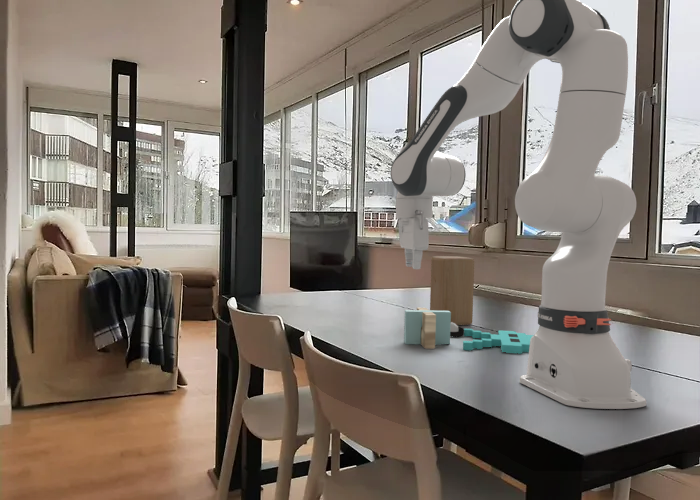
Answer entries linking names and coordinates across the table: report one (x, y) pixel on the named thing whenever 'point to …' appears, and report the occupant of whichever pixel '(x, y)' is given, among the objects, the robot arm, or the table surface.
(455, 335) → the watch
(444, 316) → the teal plate
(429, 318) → the birch board
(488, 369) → the table surface
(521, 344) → the alien figure
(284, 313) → the table surface
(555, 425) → the table surface
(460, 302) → the wooden block
